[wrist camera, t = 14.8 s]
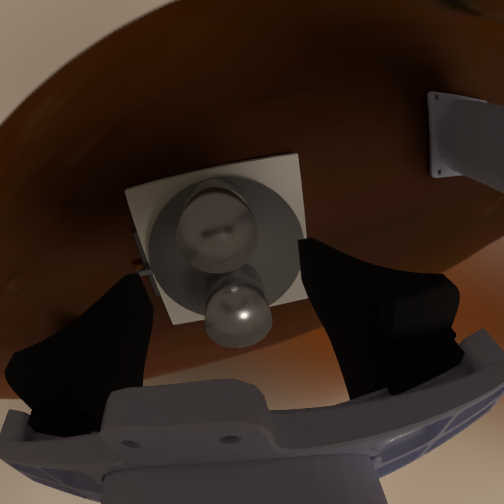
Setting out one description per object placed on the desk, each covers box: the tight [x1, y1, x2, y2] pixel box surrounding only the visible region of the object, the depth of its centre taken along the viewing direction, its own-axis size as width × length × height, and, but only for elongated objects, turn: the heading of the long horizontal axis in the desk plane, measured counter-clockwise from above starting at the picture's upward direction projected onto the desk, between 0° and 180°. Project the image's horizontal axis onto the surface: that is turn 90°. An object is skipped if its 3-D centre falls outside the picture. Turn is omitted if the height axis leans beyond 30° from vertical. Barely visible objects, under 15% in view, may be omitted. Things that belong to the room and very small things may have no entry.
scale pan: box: [135, 176, 304, 316], centre depth 21 cm, size 13×12×1 cm
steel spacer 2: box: [205, 263, 272, 348], centre depth 20 cm, size 4×4×4 cm
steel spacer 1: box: [176, 179, 258, 273], centre depth 17 cm, size 4×4×4 cm
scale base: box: [125, 153, 308, 325], centre depth 22 cm, size 13×13×1 cm
